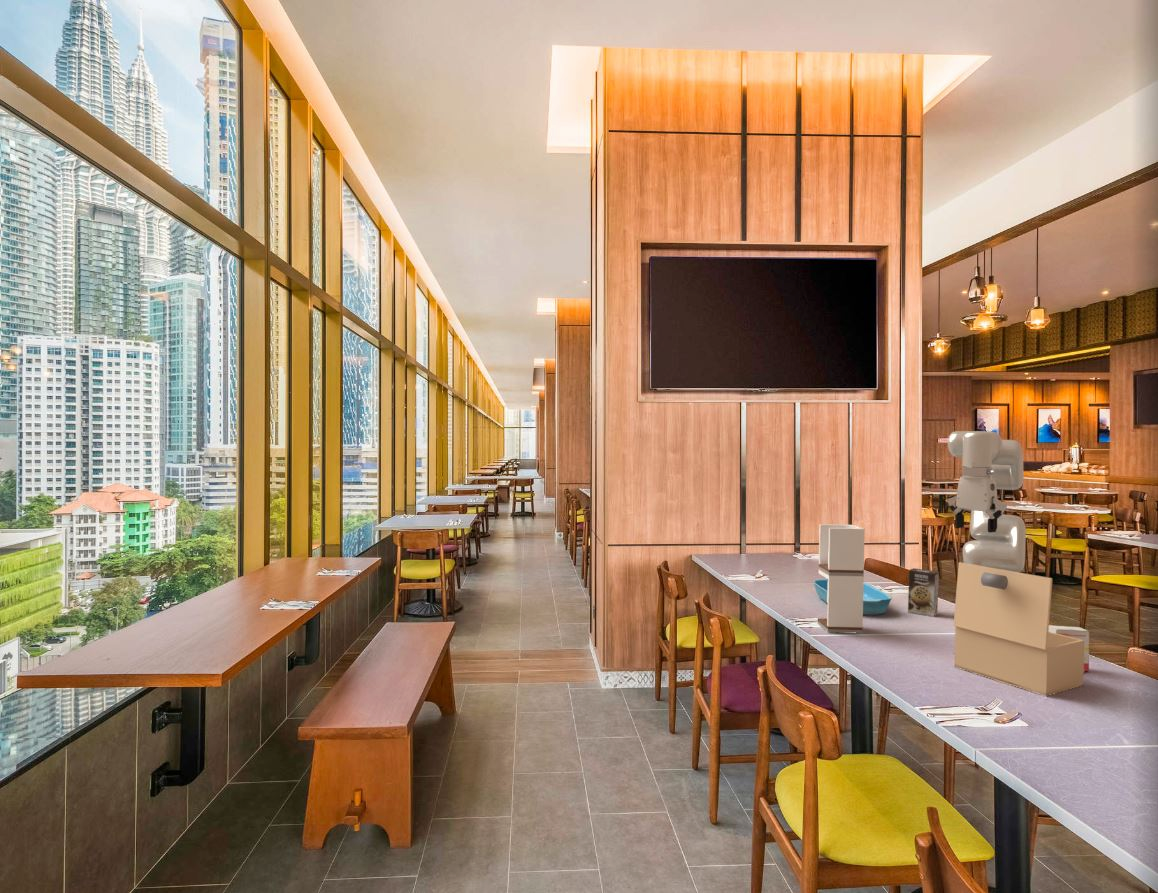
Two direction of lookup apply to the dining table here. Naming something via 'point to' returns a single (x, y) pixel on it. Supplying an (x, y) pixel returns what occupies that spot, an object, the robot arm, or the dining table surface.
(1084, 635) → the ink box
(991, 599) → the carton lid
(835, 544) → the display case
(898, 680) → the dining table surface
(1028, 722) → the dining table surface
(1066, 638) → the carton
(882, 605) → the casserole dish
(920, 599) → the dessert mix box
